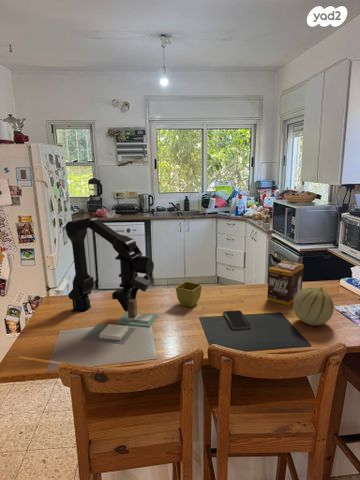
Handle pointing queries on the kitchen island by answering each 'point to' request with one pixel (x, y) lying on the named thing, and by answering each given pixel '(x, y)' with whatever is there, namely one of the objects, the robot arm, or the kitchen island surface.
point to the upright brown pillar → (133, 313)
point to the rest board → (124, 321)
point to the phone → (236, 320)
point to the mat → (94, 336)
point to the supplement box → (284, 282)
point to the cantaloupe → (313, 305)
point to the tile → (113, 332)
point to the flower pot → (188, 293)
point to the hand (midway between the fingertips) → (129, 307)
